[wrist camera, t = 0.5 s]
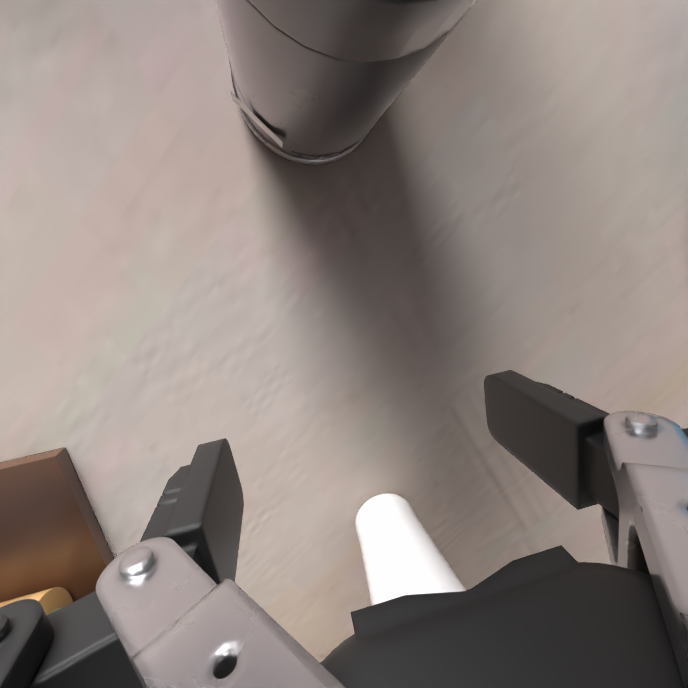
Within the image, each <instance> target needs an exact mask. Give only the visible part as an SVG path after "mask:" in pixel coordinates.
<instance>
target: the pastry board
mask: <svg viewBox="0 0 688 688" xmlns="http://www.w3.org/2000/svg"><path fill="white" fill-rule="evenodd" d="M113 560H114V558H113V556H112V553H111V551H110V549H109V547H108V544H107V542H106V540H105V538H104V535H103V533H102V531H101V529H100V526H99V524H98V522H97V519H96V517H95V515H94V513H93V510H92V508H91V506H90V504H89V501H88V499H87V497H86V495H85V492H84V490H83V488H82V485H81V483H80V481H79V479H78V476H77V474H76V472H75V470H74V467H73V465H72V463H71V460H70V458H69V456H68V454H67V451H66V449H65V448H60V449H56V450H52V451H47V452H43V453H39V454H34V455H30V456H26V457H22V458H17V459H13V460H9V461H5V462H0V603H1V602H4V601H8V600H11V599H15V598H19V597H22V596H26V595H29V594H33V593H36V592H40V591H44V590H47V589H51V588H54V587H61V588H64V589H66V590H67V591H68V592H69V594H70V595H71V597H72V600H73V602H75V601H77V600H79V599H81V598H83V597H84V596H86V595H88V594H90V593H92V592H94V591H96V584H97V581H98V579H99V577H100V575H101V573H102V572H103V571H104V569H105V568H106V567H107V566H108V565H109V564H110V563H111V562H112V561H113Z"/></svg>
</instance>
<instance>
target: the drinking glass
mask: <svg viewBox="0 0 688 688" xmlns="http://www.w3.org/2000/svg"><path fill="white" fill-rule="evenodd" d="M355 528H356V533H357V536H358V540H359V543H360V547H361V553H362V558H363V563H364V568H365V574H366V579H367V584H368V590H369V595H370V601H371V606H372V605H375V604H379V603H382V602H385V601H388V600H391V599H394V598H397V597H401V596H404V595H412V594H429V593H445V592H461V591H466V589H465V588H464V586H463V585H462V583H461V582H460V580H459V579H458V577H457V576H456V574H455V573H454V572H453V570H452V569H451V567H450V566H449V564H448V563H447V561H446V560H445V558H444V557H443V555H442V554H441V552H440V551H439V550H438V548H437V547H436V545H435V544H434V542H433V541H432V539H431V538H430V536H429V535H428V533H427V532H426V530H425V529H424V527H423V526H422V524H421V523H420V521H419V520H418V518H417V516H416V514H415V513H414V511H413V509H412V507H411V505H410V504H409V503H408V502H407V501H406V500H405V499H404V498H403V497H401V496H399V495H396V494H391V493H385V494H380V495H377V496H374V497H372V498H371V499H369V500H368V501H366V502H365V503H364V504H363V505H362V507H361V508H360V510H359V511H358V513H357V516H356V521H355Z"/></svg>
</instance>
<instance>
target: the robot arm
mask: <svg viewBox="0 0 688 688" xmlns="http://www.w3.org/2000/svg"><path fill="white" fill-rule="evenodd" d="M475 1H476V0H216V5H217V9H218V14H219V18H220V22H221V27H222V31H223V35H224V40H225V44H226V48H227V53H228V57H229V63H230V67H231V74H232V82H233V88H234V92H235V95H234V94H233V93H232V92H231V91H230V92H231V95H232V98H233V101H234V102H235V103H236V104H237V105H238V106H239V108H240V111H241V113H242V115H243V117H244V119H245V121H246V123H247V124H248V126H249V127H250V129H251V130H252V132H253V133H254V134H255V135H256V137H257V138H258V139H259V140H260V141H261V142H262V143H263V144H264V145H265V146H267V147H268V148H269V149H270V150H272V151H273V152H275V153H276V154H278V155H280V156H281V157H283V158H286V159H288V160H291V161H294V162H297V163H301V164H309V165H317V164H325V163H330V162H333V161H336V160H338V159H340V158H342V157H344V156H346V155H347V154H349V153H350V152H351V151H353V150H354V149H355V148H356V147H357V146H358V145H359V144H360V143H361V142H362V141H363V140H364V138H365V137H366V136H367V135H368V133H369V132H370V130H371V129H372V127H373V125H374V124H375V123H376V122H377V121H378V119H379V118H380V117H381V116H382V114H383V113H384V112H385V111H386V110H387V108H388V107H389V106H390V105H391V104H392V102H393V101H394V100H395V99H396V98H397V96H398V95H399V94H400V93H401V91H402V90H403V89H404V88H405V87H406V85H407V84H408V83H409V82H410V81H411V79H412V78H413V77H414V76H415V75H416V73H417V72H418V71H419V70H420V68H421V67H422V66H423V65H424V64H425V62H426V61H427V60H428V59H429V58H430V56H431V55H432V54H433V53H434V51H435V50H436V49H437V48H438V47H439V45H440V44H441V43H442V42H443V41H444V39H445V38H446V37H447V36H448V35H449V33H450V32H451V31H452V30H453V28H454V27H455V26H456V25H457V24H458V22H459V21H460V20H461V19H462V18H463V16H464V15H465V14H466V13H467V12H468V10H469V9H470V8H471V6H472V5H473V4H474V3H475ZM484 390H485V404H486V417H487V425H488V428H489V431H490V433H491V435H492V436H493V438H494V439H495V440H496V441H497V442H498V443H499V444H500V445H502V446H503V447H504V448H505V449H506V450H507V451H509V452H510V453H511V454H512V455H513V456H515V457H516V458H517V459H518V460H519V461H520V462H522V463H523V464H524V465H525V466H526V467H528V468H529V469H530V470H531V471H532V472H534V473H535V474H536V475H537V476H538V477H539V478H541V479H542V480H543V481H544V482H545V483H547V484H548V485H549V486H550V487H551V488H552V489H554V490H555V491H556V492H557V493H558V494H560V495H561V496H562V497H563V498H564V499H565V500H567V501H568V502H569V503H570V504H571V505H573V506H574V507H575V508H576V509H577V510H579V509H582V508H586V507H589V506H592V505H595V504H600V505H601V506H602V523H603V528H604V533H605V538H606V543H607V547H608V552H609V557H610V562H611V565H609V564H602V563H587V562H580V563H578V562H577V561H576V560H575V559H574V558H573V557H572V556H571V555H570V554H569V553H568V552H567V551H566V550H565V549H564V548H563V547H562V546H558V547H554V548H551V549H548V550H545V551H542V552H539V553H536V554H532V555H529V556H526V557H523V558H520V559H517V560H514V561H512V562H510V563H509V564H507V565H506V566H504V567H503V568H501V569H500V570H498V571H497V572H495V573H494V574H492V575H491V576H489V577H488V578H486V579H485V580H484V581H482V582H481V583H479V584H478V585H476V586H475V587H473V588H471V589H470V590H467V591H461V592H445V593H429V594H412V595H404V596H401V597H397V598H394V599H391V600H388V601H385V602H382V603H379V604H375V605H372V606H369V607H366V608H363V609H360V610H357V611H354V612H351V617H352V621H353V626H354V631H355V634H354V635H352V636H351V637H349V638H348V639H346V640H345V641H343V642H342V643H341V644H340V645H339V646H338V647H336V648H335V649H334V650H333V651H332V652H331V653H330V654H329V655H328V656H327V657H326V658H325V659H324V660H323V661H322V662H321V664H320V663H319V662H318V661H317V660H316V659H315V658H314V657H313V656H312V655H311V654H310V653H309V652H307V651H306V650H305V649H304V648H303V647H302V646H301V645H300V644H299V643H298V642H297V641H296V640H295V639H294V638H293V637H292V636H291V635H290V634H288V633H287V632H286V631H285V630H284V629H283V628H282V627H281V626H280V625H279V624H278V623H277V622H276V621H275V620H274V619H273V618H272V617H270V616H269V615H268V614H267V613H266V612H265V611H264V610H263V609H262V608H261V607H260V606H259V605H258V604H257V603H256V602H255V601H254V600H253V599H251V598H250V597H249V596H248V595H247V594H246V593H245V592H244V591H243V590H242V589H241V588H240V587H239V586H238V585H237V584H236V583H235V575H236V566H237V558H238V550H239V541H240V533H241V524H242V516H243V507H244V502H243V492H242V487H241V483H240V480H239V476H238V473H237V469H236V466H235V462H234V459H233V456H232V452H231V449H230V445H229V443H228V441H227V439H221V440H217V441H213V442H209V443H205V444H200V445H198V447H197V450H196V452H195V455H194V457H193V460H192V462H191V465H187V466H183V467H181V468H180V469H179V470H178V471H177V472H176V473H175V474H174V475H173V476H172V477H171V478H170V479H169V480H168V482H167V485H166V487H165V489H164V491H163V493H162V494H163V496H161V497H160V500H159V502H158V504H157V507H156V508H155V510H154V513H153V515H152V517H151V519H150V521H149V523H148V525H147V528H146V530H145V532H144V534H143V536H142V538H141V541H140V543H138V544H136V545H134V546H132V547H130V548H128V549H127V550H125V551H124V552H122V553H121V554H120V555H118V556H117V557H116V558H115V559H114V560H113V561H112V562H111V563H110V564H109V565H108V566H107V567H106V568H105V569H104V571H103V572H102V573H101V575H100V577H99V579H98V581H97V584H96V591H94V592H92V593H90V594H88V595H86V596H84V597H83V598H81V599H79V600H77V601H75V602H73V603H71V604H69V605H67V606H65V607H63V608H61V609H59V610H57V611H55V612H53V613H51V614H49V615H46V613H45V611H44V609H43V607H42V605H41V603H40V602H39V601H37V600H34V599H24V600H19V601H15V602H12V603H10V604H7V605H5V606H3V607H0V688H688V428H687V429H681V428H680V426H679V425H677V424H676V423H675V422H673V421H671V420H669V419H667V418H664V417H662V416H658V415H655V414H650V413H645V412H635V411H625V412H617V413H613V414H609V413H607V412H605V411H603V410H600V409H598V408H596V407H594V406H592V405H590V404H588V403H586V402H584V401H582V400H580V399H575V398H574V397H573V396H571V395H569V394H567V393H563V391H561V390H559V389H557V388H555V387H552V386H550V385H548V384H543V383H539V382H535V381H533V380H531V379H529V378H527V377H525V376H523V375H521V374H518V373H516V372H514V371H512V370H508V371H504V372H500V373H495V374H491V375H488V376H486V377H485V380H484Z"/></svg>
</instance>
